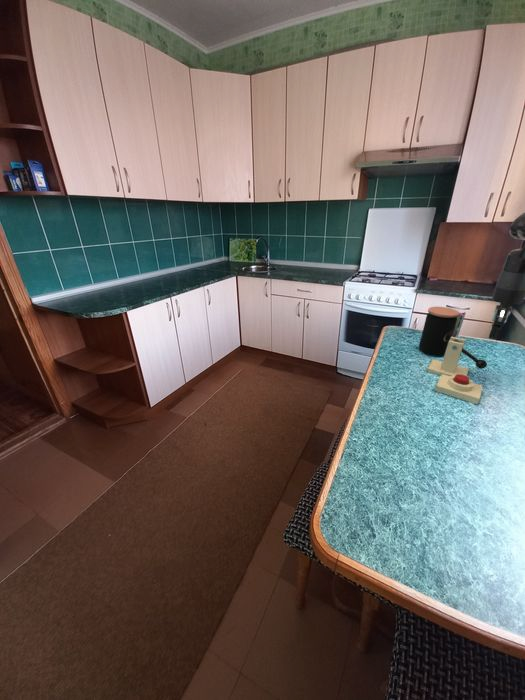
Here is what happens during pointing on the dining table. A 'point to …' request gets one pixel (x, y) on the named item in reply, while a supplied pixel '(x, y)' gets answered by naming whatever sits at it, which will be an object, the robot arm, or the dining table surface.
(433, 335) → the coffee jar
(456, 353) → the lever base
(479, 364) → the black lever
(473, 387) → the button block
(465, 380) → the button
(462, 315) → the candy bar box
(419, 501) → the dining table surface
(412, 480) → the dining table surface
